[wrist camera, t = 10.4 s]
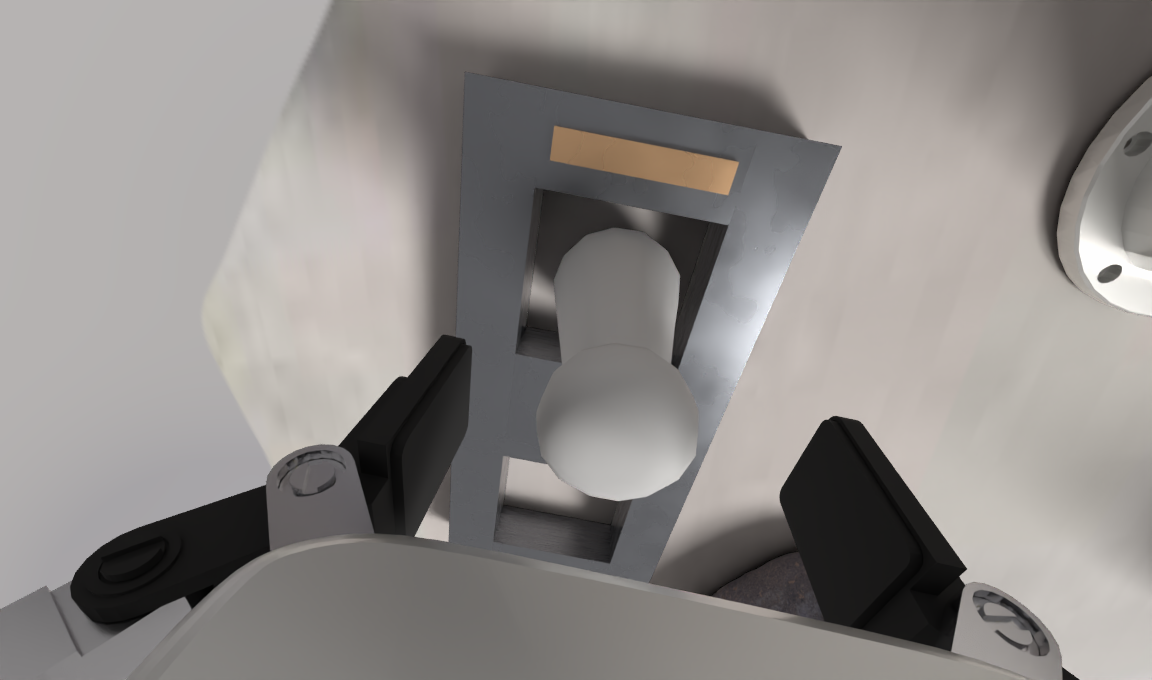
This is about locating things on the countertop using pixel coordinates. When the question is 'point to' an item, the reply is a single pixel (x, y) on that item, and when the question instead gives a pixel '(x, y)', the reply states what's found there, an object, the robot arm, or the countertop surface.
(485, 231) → the socket panel
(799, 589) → the perforated stone tool
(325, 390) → the countertop surface
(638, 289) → the salt shaker
